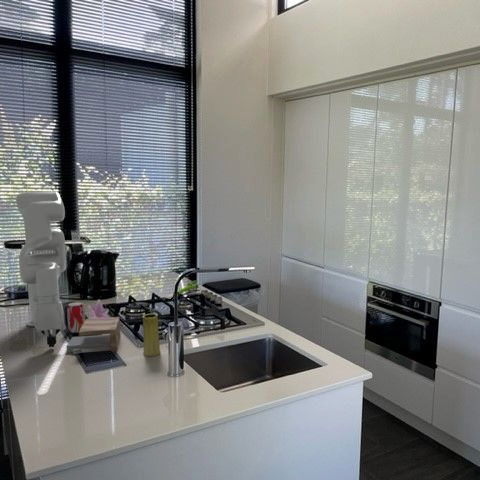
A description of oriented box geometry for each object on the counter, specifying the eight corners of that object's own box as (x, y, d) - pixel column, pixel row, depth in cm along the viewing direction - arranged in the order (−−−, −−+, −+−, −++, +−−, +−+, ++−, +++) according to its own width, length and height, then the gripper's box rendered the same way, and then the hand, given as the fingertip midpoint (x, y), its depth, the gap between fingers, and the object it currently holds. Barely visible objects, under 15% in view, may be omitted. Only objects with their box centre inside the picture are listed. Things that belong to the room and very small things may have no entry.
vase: (163, 351, 168) (161, 314, 166) (155, 357, 162) (153, 318, 160) (148, 349, 170) (147, 312, 168) (140, 355, 164) (138, 317, 162)
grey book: (72, 343, 178) (72, 336, 178) (114, 340, 180) (114, 333, 180) (66, 352, 168) (66, 345, 168) (111, 349, 171) (110, 342, 170)
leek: (161, 304, 241) (191, 287, 268) (172, 307, 239) (201, 290, 265) (161, 293, 240) (192, 277, 266) (172, 296, 237) (202, 280, 263)
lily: (84, 331, 196) (93, 313, 194) (78, 315, 205) (86, 297, 202) (110, 333, 204) (118, 316, 201) (102, 317, 212) (110, 300, 210)
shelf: (80, 340, 182) (78, 319, 181) (120, 337, 184) (119, 316, 183) (72, 354, 166) (70, 332, 165) (116, 351, 169) (115, 329, 168)
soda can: (80, 334, 189) (78, 306, 187) (65, 333, 190) (63, 305, 189) (89, 328, 196) (87, 301, 194) (74, 328, 197) (72, 301, 196)
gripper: (24, 302, 165) (28, 351, 167) (67, 300, 168) (70, 347, 170) (30, 297, 172) (33, 344, 175) (71, 295, 175) (74, 340, 177)
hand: (52, 345), depth 172 cm, fingers closed
